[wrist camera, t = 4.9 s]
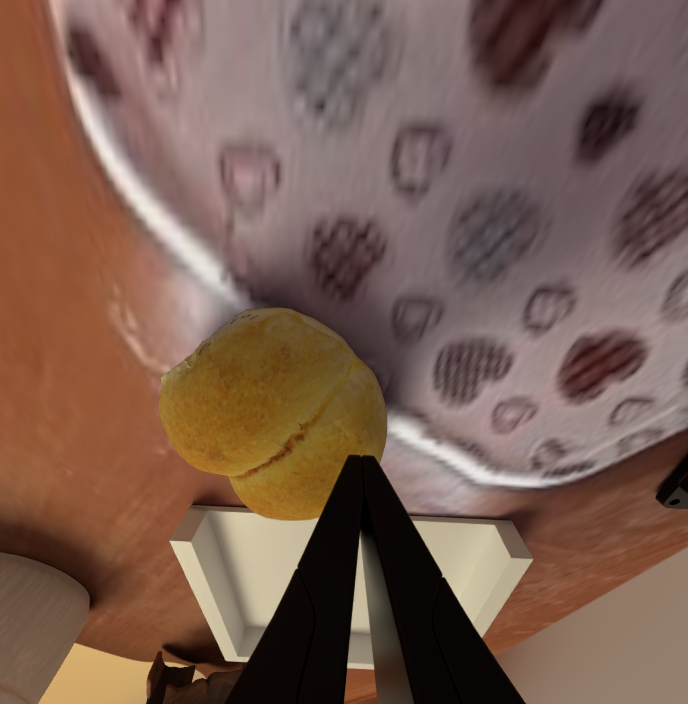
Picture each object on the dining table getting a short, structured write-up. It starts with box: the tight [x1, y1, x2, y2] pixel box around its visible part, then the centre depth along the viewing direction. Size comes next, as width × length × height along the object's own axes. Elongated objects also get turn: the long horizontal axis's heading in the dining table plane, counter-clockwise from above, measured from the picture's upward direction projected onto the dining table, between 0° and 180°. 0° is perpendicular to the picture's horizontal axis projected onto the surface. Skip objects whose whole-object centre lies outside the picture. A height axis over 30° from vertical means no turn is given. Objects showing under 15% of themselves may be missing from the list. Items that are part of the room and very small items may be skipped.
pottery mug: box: [146, 651, 247, 704], centre depth 24 cm, size 12×9×8 cm
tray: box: [170, 505, 533, 669], centre depth 18 cm, size 20×18×2 cm
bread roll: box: [159, 307, 387, 521], centre depth 9 cm, size 8×9×4 cm
